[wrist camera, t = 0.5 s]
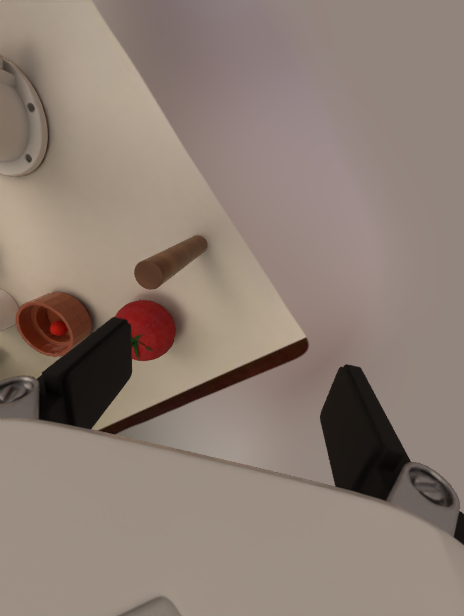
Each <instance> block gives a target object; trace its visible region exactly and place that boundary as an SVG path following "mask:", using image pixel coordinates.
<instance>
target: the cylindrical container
mask: <svg viewBox="0 0 464 616" xmlns="http://www.w3.org/2000/svg"><path fill="white" fill-rule="evenodd" d="M18 309H19V307H18V305H17V303H16V302H15V300H14V299H13V298H12V297H11V296H10V295H9V294H8V293H7V292H5V291H4V290H2V289H0V331H2V330H4V329H6V328H8V327H10V326H12V325H14V324H16V313H17V311H18Z"/></svg>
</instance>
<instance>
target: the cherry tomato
mask: <svg viewBox="0 0 464 616" xmlns="http://www.w3.org/2000/svg"><path fill="white" fill-rule="evenodd" d="M67 330H68V328H67V326H66V324H65V323H64V322H63V321H55V322H53V323H52V324H51V325H50V331H51V333H52V334H54V335H56V336H61V335H63V334H65V333H66V332H67Z"/></svg>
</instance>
